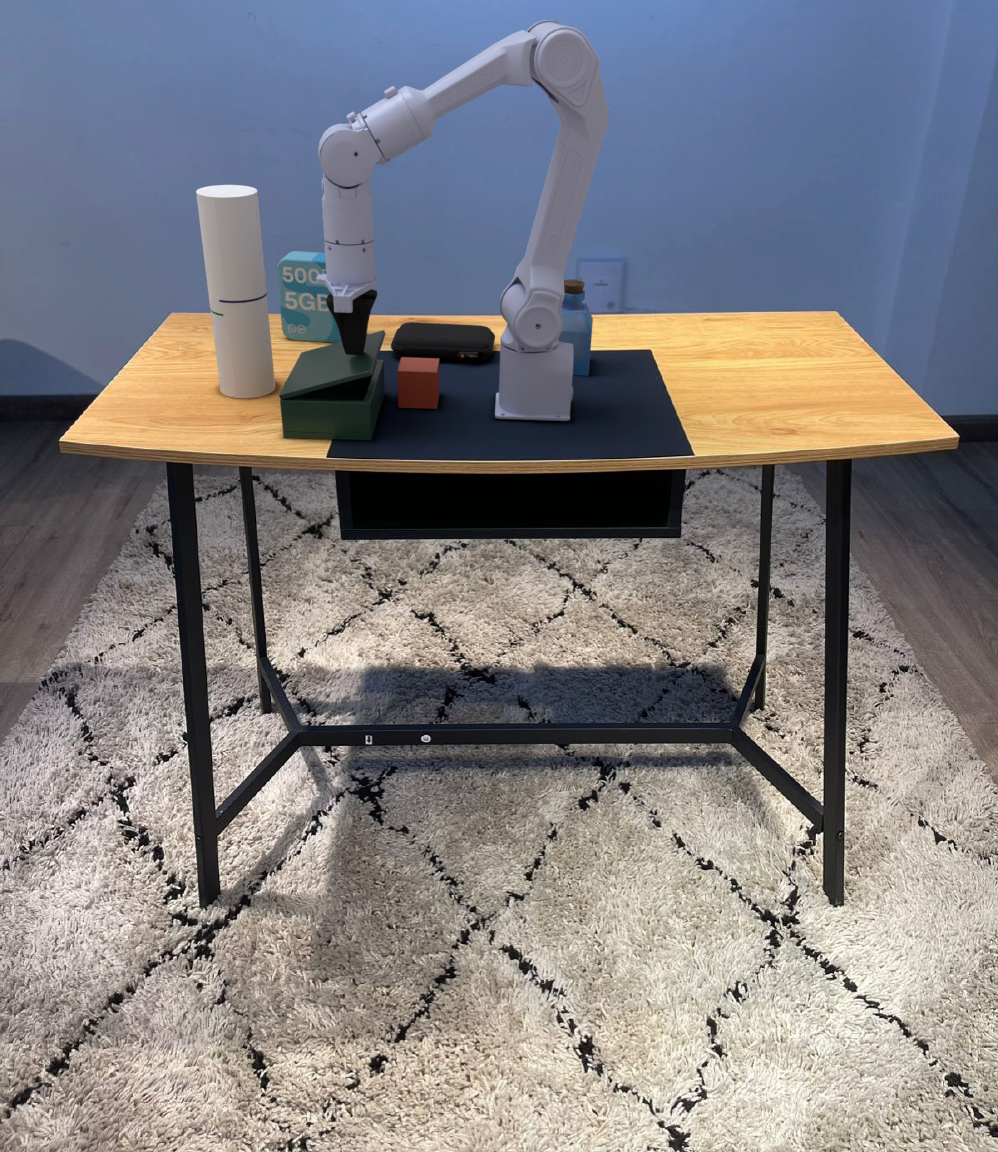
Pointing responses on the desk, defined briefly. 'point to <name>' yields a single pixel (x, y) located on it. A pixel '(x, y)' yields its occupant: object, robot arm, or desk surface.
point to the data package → (305, 298)
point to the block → (418, 383)
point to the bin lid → (331, 366)
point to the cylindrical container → (237, 289)
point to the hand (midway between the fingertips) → (354, 353)
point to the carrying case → (443, 341)
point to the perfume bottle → (577, 325)
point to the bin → (336, 409)
